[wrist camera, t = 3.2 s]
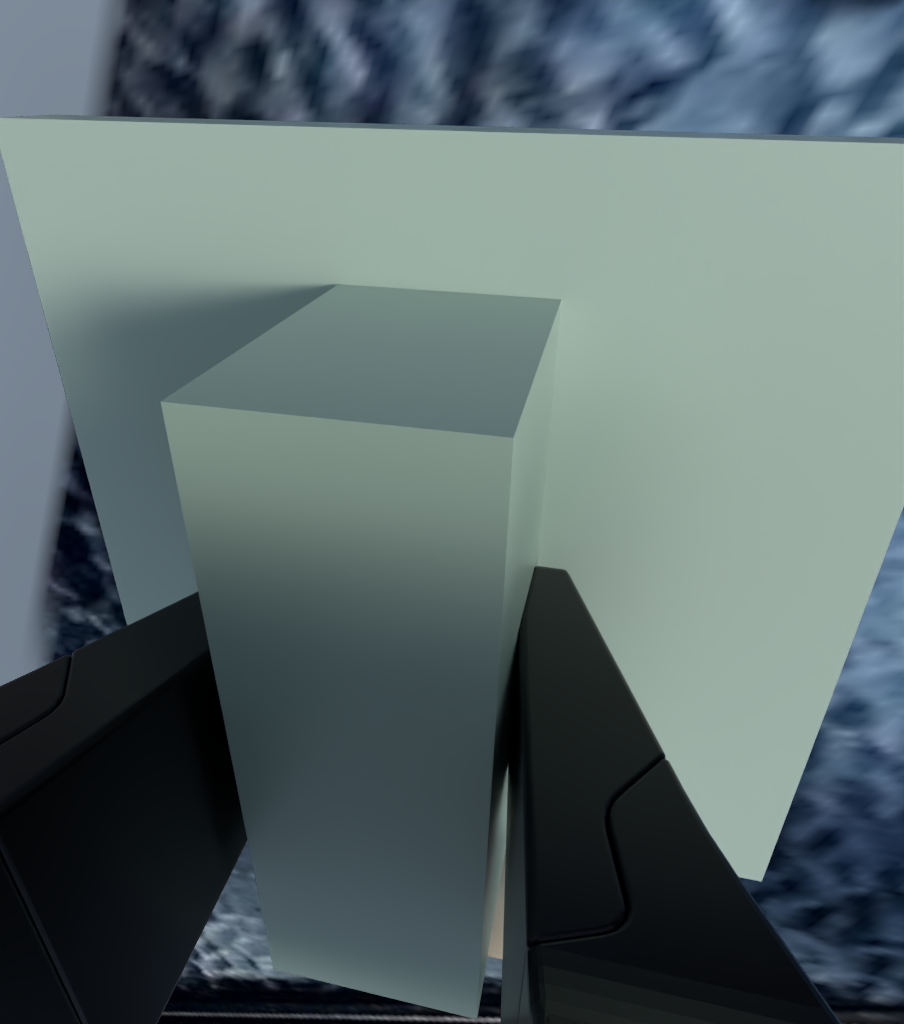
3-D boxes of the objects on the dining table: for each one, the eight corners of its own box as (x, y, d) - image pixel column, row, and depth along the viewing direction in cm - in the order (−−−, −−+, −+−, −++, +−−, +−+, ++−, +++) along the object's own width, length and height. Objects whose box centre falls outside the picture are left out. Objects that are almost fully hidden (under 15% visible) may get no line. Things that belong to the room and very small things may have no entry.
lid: (956, 135, 8) (1430, 205, 3) (745, 786, 13) (808, 1170, 8) (96, 113, 9) (-405, 135, 5) (213, 691, 14) (23, 965, 10)
